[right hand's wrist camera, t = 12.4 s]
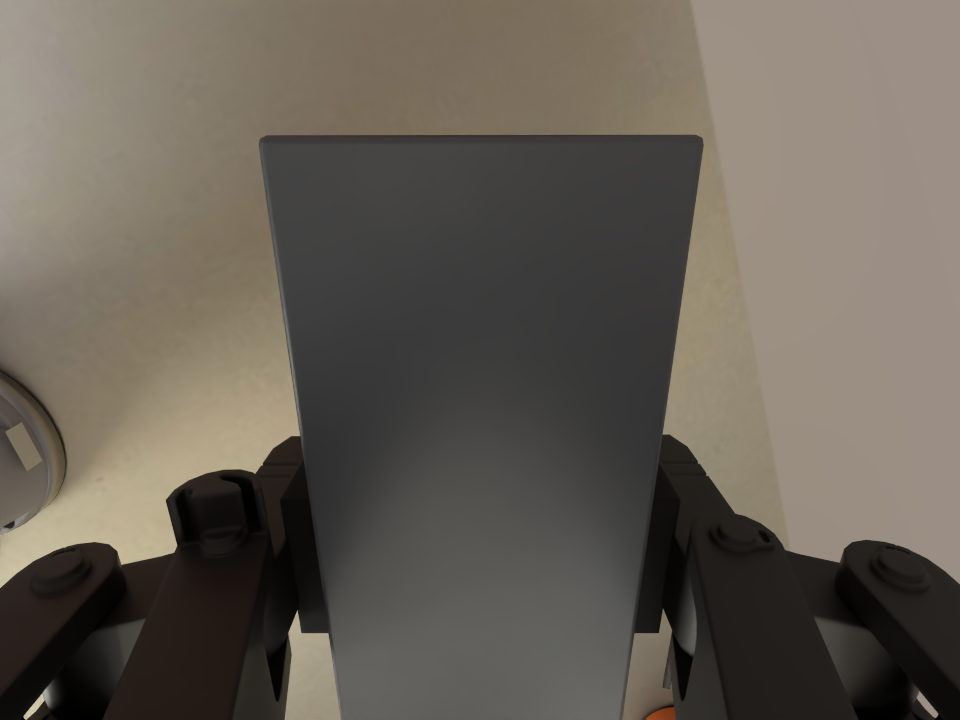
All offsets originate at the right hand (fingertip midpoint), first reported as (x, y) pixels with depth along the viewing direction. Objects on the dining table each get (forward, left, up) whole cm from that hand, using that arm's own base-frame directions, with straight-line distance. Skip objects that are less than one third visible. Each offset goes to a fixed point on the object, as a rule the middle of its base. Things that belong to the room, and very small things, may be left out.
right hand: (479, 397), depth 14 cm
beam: (-18, -4, -1) cm, 19 cm away
